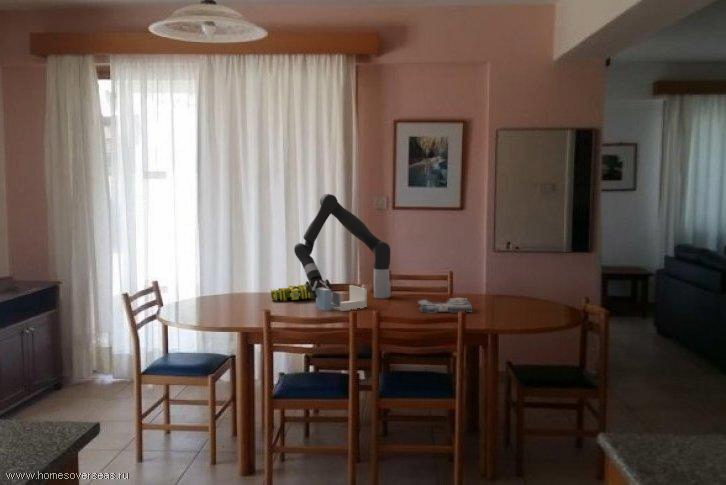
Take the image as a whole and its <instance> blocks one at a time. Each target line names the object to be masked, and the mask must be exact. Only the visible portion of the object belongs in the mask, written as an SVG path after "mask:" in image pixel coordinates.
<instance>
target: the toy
mask: <svg viewBox="0 0 726 485" xmlns="http://www.w3.org/2000/svg"><path fill="white" fill-rule="evenodd" d="M310 288H311V289H312V286H311V285H310ZM314 291H315V292H316V289H315V290H314ZM270 297H271V300H275V301H277V302H287V301H296V300H297V301H298V300H304V299H310V300H316V298H314V297H313V295H312V293H311V292H309V293H308V292H307V289H306V286H305V283H304V284H302V283H301V284H298V285H297V286H296V285H295V284H293V285H289V286H288V287H281V288H280V287H279V288H278V289H276V288H273V289H270Z"/></svg>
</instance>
